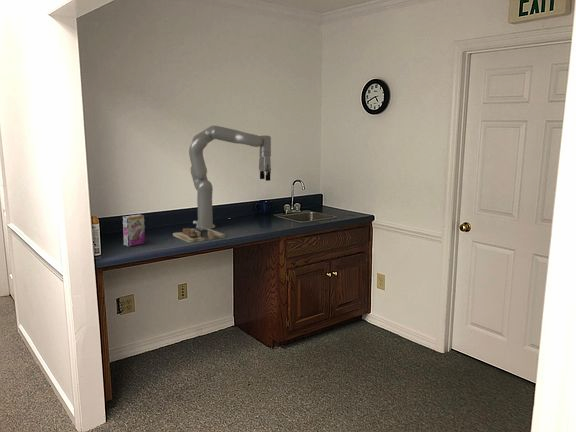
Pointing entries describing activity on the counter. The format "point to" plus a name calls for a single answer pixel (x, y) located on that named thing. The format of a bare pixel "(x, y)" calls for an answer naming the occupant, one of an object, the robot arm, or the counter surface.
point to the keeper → (203, 232)
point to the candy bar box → (133, 230)
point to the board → (199, 236)
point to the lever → (190, 232)
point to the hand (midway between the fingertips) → (265, 179)
